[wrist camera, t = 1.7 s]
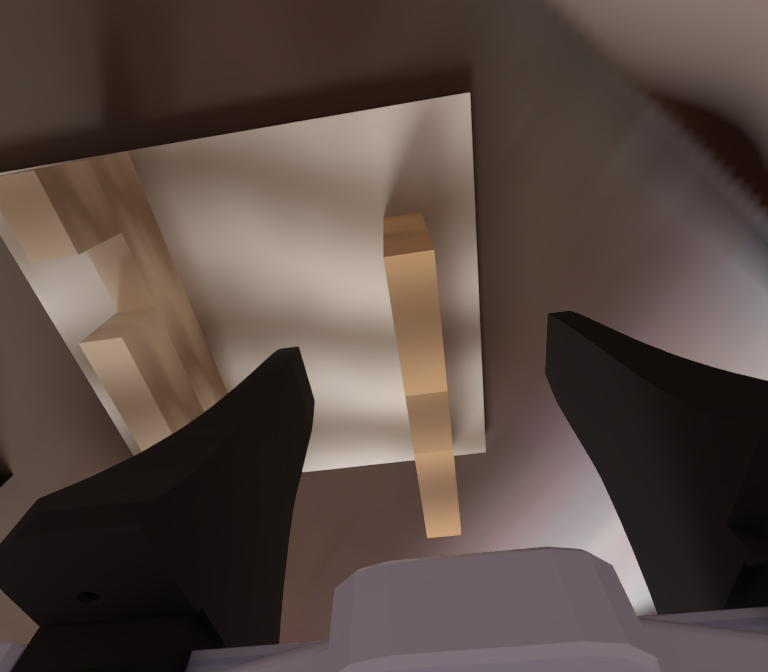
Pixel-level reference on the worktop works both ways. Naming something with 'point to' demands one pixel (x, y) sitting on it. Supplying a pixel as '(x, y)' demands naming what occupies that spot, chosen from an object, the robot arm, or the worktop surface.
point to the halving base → (259, 270)
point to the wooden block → (422, 366)
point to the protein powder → (4, 478)
